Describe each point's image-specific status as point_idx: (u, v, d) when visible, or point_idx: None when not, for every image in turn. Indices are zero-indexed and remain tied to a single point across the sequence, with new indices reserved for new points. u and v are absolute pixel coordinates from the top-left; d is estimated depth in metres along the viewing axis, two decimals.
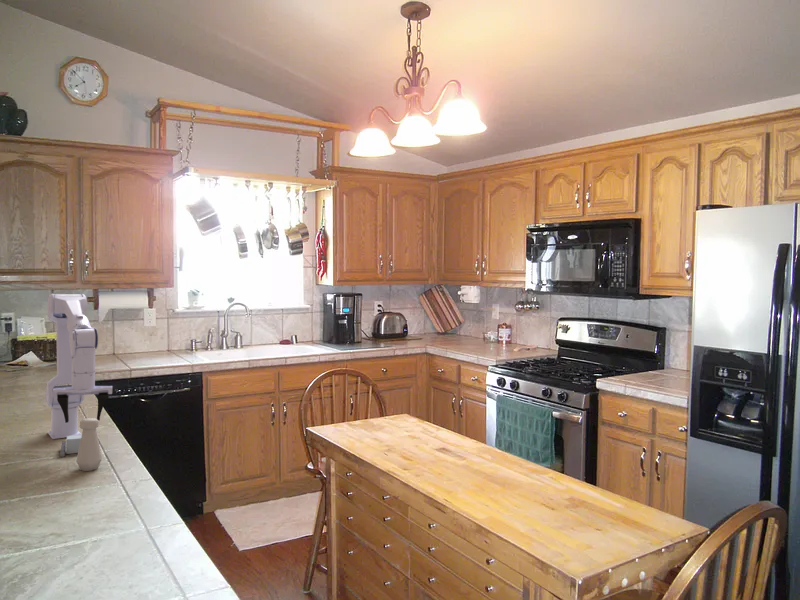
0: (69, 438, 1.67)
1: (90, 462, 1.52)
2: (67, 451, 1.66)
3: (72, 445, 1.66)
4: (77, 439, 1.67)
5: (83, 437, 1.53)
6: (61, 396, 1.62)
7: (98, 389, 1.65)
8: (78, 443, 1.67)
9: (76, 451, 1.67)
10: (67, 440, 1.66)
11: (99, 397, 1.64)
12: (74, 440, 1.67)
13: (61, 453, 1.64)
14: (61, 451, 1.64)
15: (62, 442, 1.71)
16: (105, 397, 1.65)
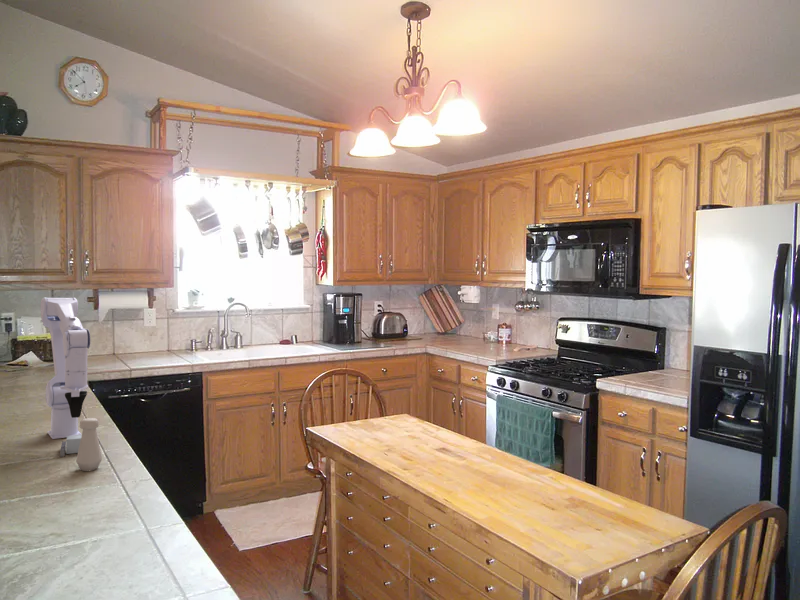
0: (69, 438, 1.67)
1: (90, 462, 1.52)
2: (67, 451, 1.66)
3: (72, 445, 1.66)
4: (77, 439, 1.67)
5: (83, 437, 1.53)
6: None
7: (68, 389, 1.70)
8: (78, 443, 1.67)
9: (76, 451, 1.67)
10: (67, 440, 1.66)
11: (65, 394, 1.72)
12: (74, 440, 1.67)
13: (61, 453, 1.64)
14: (61, 451, 1.64)
15: (62, 442, 1.71)
16: (65, 396, 1.71)
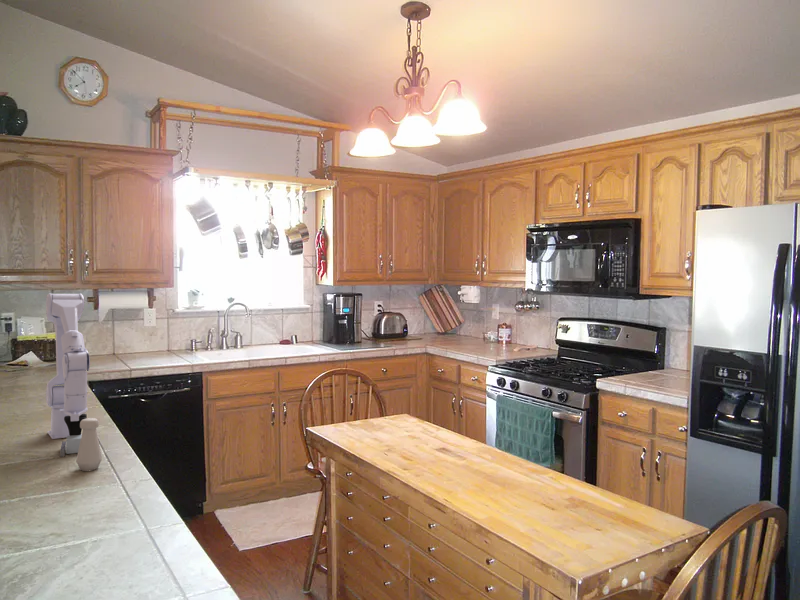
0: (69, 438, 1.67)
1: (90, 462, 1.52)
2: (67, 451, 1.66)
3: (72, 445, 1.66)
4: (77, 439, 1.67)
5: (83, 437, 1.53)
6: None
7: (67, 413, 1.67)
8: (78, 443, 1.67)
9: (76, 451, 1.67)
10: (67, 440, 1.66)
11: (64, 418, 1.69)
12: (74, 440, 1.67)
13: (61, 453, 1.64)
14: (61, 451, 1.64)
15: (62, 442, 1.71)
16: (64, 420, 1.68)
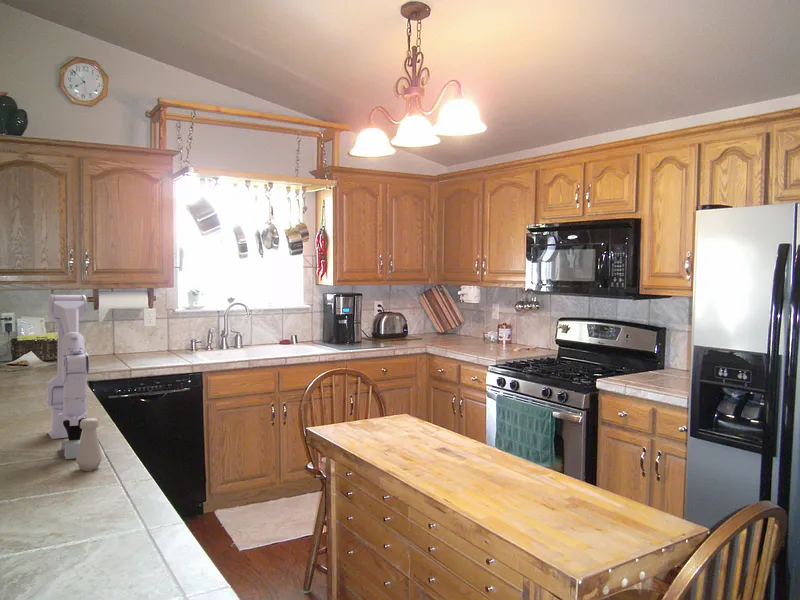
0: (68, 443, 1.62)
1: (90, 462, 1.52)
2: (66, 456, 1.61)
3: (71, 451, 1.62)
4: (76, 444, 1.62)
5: (83, 437, 1.53)
6: None
7: (66, 417, 1.62)
8: (77, 448, 1.62)
9: (75, 456, 1.62)
10: (66, 445, 1.61)
11: (63, 422, 1.65)
12: (73, 445, 1.62)
13: (61, 453, 1.64)
14: (61, 451, 1.64)
15: (62, 442, 1.71)
16: (63, 424, 1.63)
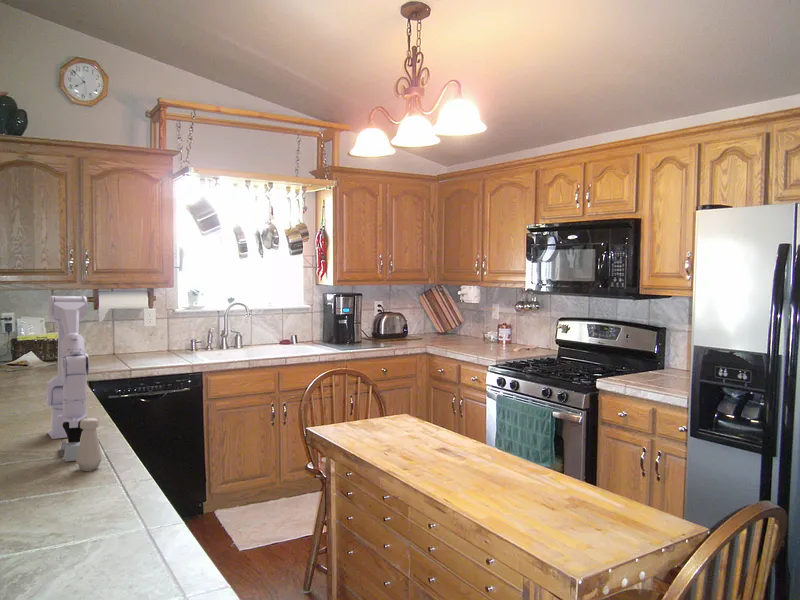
0: (68, 445, 1.60)
1: (90, 462, 1.52)
2: (66, 459, 1.59)
3: (71, 453, 1.60)
4: (76, 446, 1.60)
5: (83, 437, 1.53)
6: None
7: (66, 419, 1.60)
8: (77, 450, 1.60)
9: (75, 459, 1.60)
10: (66, 447, 1.59)
11: (62, 424, 1.63)
12: (73, 447, 1.60)
13: (61, 453, 1.64)
14: (61, 451, 1.64)
15: (62, 442, 1.71)
16: (63, 426, 1.61)
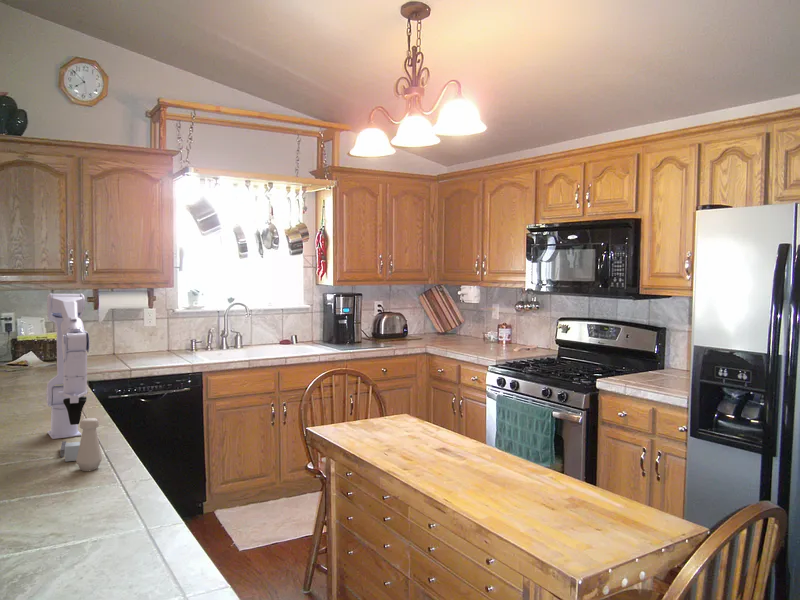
0: (68, 445, 1.60)
1: (90, 462, 1.52)
2: (66, 459, 1.59)
3: (71, 453, 1.60)
4: (76, 446, 1.60)
5: (83, 437, 1.53)
6: None
7: (66, 395, 1.62)
8: (77, 450, 1.60)
9: (75, 459, 1.60)
10: (66, 447, 1.59)
11: None
12: (73, 447, 1.60)
13: (61, 453, 1.64)
14: (61, 451, 1.64)
15: (62, 442, 1.71)
16: (63, 402, 1.63)
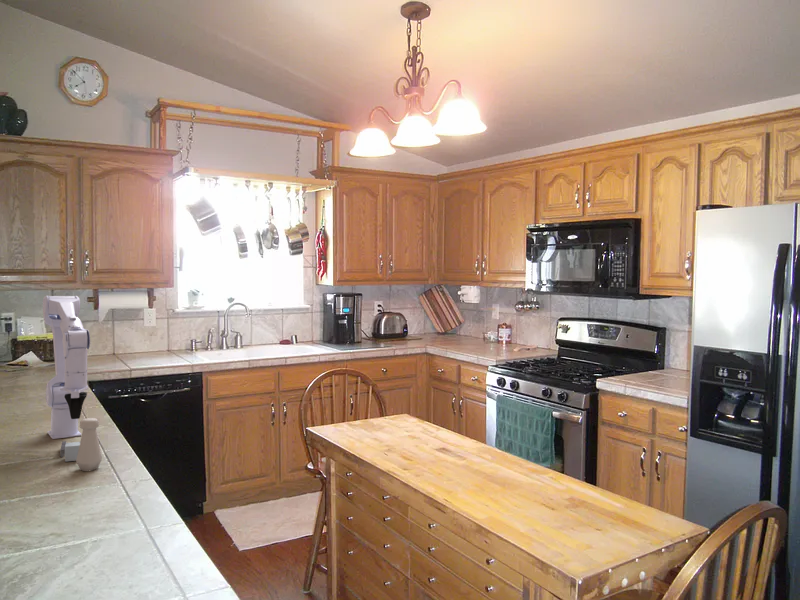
0: (68, 445, 1.60)
1: (90, 462, 1.52)
2: (66, 459, 1.59)
3: (71, 453, 1.60)
4: (76, 446, 1.60)
5: (83, 437, 1.53)
6: None
7: (68, 390, 1.68)
8: (77, 450, 1.60)
9: (75, 459, 1.60)
10: (66, 447, 1.59)
11: (64, 396, 1.71)
12: (73, 447, 1.60)
13: (61, 453, 1.64)
14: (61, 451, 1.64)
15: (62, 442, 1.71)
16: (64, 397, 1.70)
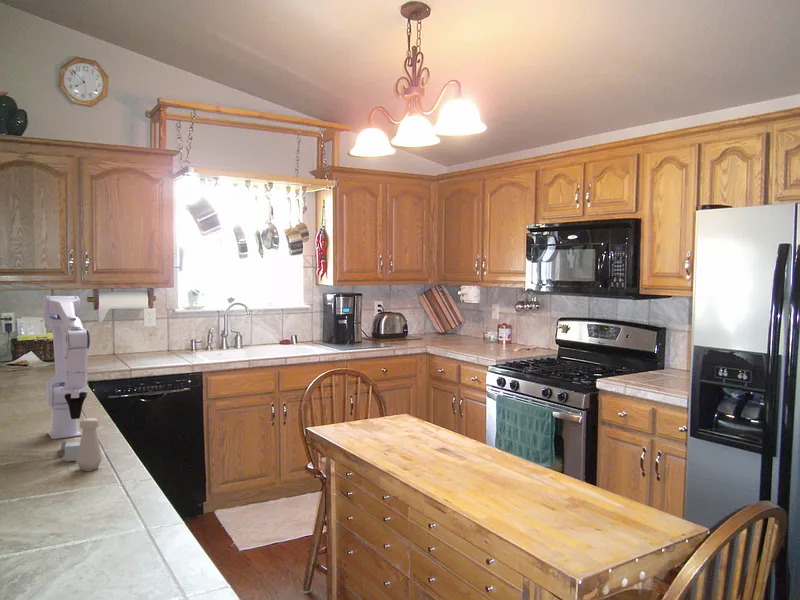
0: (68, 445, 1.60)
1: (90, 462, 1.52)
2: (66, 459, 1.59)
3: (71, 453, 1.60)
4: (76, 446, 1.60)
5: (83, 437, 1.53)
6: None
7: (68, 390, 1.68)
8: (77, 450, 1.60)
9: (75, 459, 1.60)
10: (66, 447, 1.59)
11: (64, 396, 1.71)
12: (73, 447, 1.60)
13: (61, 453, 1.64)
14: (61, 451, 1.64)
15: (62, 442, 1.71)
16: (64, 397, 1.70)
